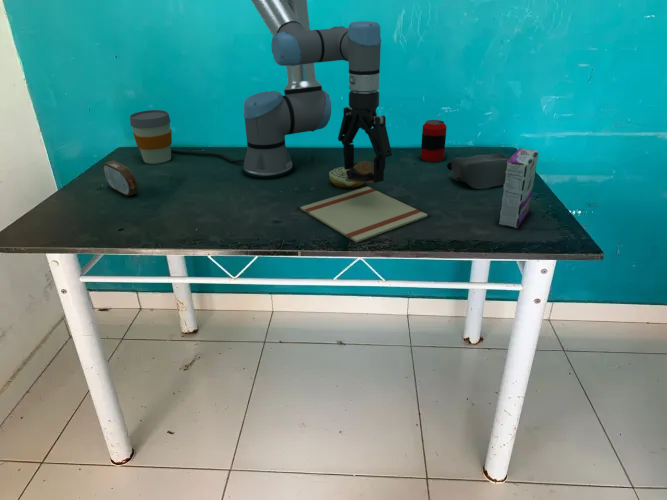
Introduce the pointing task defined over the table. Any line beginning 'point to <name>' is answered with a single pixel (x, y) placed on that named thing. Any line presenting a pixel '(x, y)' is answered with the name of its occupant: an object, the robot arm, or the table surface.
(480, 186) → the gray bottle
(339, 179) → the decorated donut
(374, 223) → the towel
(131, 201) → the table surface
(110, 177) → the tin
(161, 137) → the reusable coffee cup
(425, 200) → the table surface
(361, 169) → the bread roll
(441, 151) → the soda can
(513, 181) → the candy bar box
